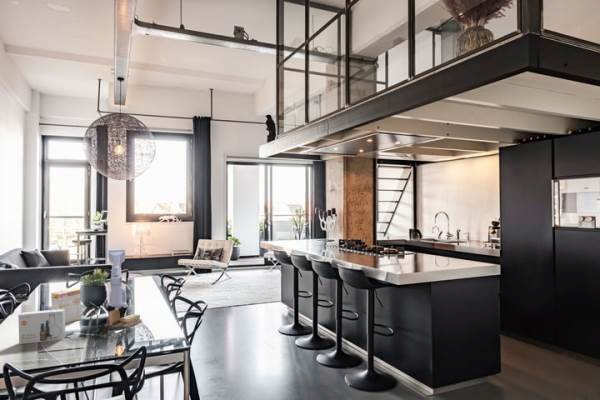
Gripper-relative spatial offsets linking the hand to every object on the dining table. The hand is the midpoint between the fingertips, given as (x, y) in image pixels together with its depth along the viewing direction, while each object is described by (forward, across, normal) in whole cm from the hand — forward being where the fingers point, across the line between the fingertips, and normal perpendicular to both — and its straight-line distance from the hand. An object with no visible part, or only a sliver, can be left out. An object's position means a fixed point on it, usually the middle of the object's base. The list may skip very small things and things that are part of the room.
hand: (117, 318), depth 249 cm
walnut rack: (+3, +5, 0) cm, 6 cm away
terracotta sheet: (+2, 0, 0) cm, 2 cm away
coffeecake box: (+4, -38, -3) cm, 38 cm away
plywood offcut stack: (+2, +10, 0) cm, 10 cm away
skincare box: (+4, -18, -35) cm, 39 cm away
